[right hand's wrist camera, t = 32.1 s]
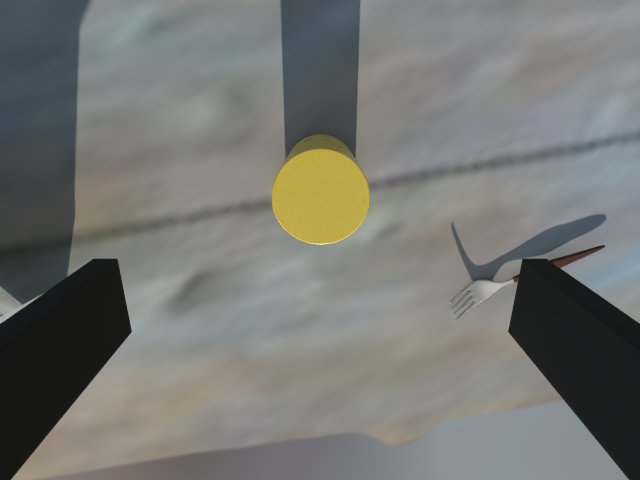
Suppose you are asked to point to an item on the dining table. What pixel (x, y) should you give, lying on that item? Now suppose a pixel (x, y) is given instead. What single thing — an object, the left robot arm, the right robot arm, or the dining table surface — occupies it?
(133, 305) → the dining table surface
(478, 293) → the fork
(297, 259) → the dining table surface
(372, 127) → the dining table surface
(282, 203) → the tin
